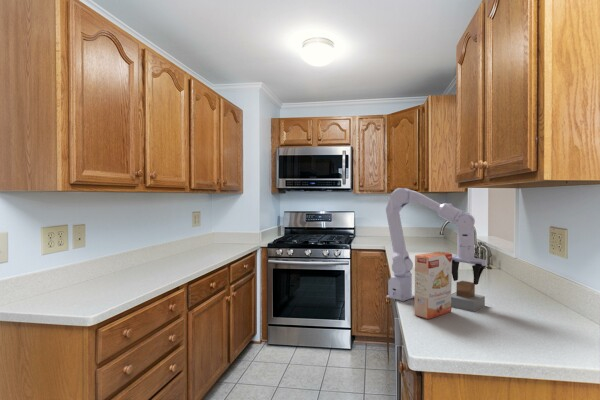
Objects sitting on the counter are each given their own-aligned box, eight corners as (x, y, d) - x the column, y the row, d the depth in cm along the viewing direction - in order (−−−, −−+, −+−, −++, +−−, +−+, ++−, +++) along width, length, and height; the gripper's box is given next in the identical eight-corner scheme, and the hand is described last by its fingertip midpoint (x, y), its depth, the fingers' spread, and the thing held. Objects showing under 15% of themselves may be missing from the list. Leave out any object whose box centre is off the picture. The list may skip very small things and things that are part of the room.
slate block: (474, 313, 127) (474, 301, 127) (446, 306, 134) (446, 296, 134) (484, 306, 134) (484, 296, 134) (457, 301, 141) (457, 291, 141)
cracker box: (429, 320, 119) (429, 257, 118) (413, 315, 123) (413, 254, 123) (452, 312, 127) (452, 252, 126) (437, 307, 132) (437, 250, 131)
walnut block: (468, 298, 131) (468, 284, 131) (456, 295, 135) (456, 282, 135) (474, 296, 134) (474, 282, 134) (462, 293, 137) (462, 280, 137)
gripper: (490, 246, 131) (490, 284, 131) (452, 242, 142) (452, 277, 142) (482, 248, 126) (481, 287, 126) (443, 244, 137) (442, 279, 138)
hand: (465, 282), depth 134 cm, fingers open, 7 cm apart
